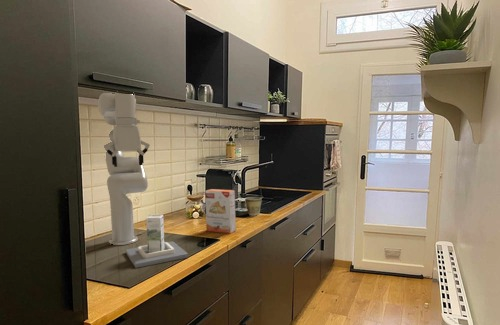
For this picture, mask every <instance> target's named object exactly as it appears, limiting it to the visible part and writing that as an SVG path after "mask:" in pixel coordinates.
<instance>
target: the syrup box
mask: <svg viewBox="0 0 500 325" xmlns="http://www.w3.org/2000/svg"><path fill="white" fill-rule="evenodd" d="M145 221H146V224H145V225H146V241H147V242H146V243H147V244H146V245H147V246H148V253H152V252H158V251H163V250H164V249H165V244H164V242H165V227H164V226H165V225H164V222H165V221H164V214H149V215H148V216H147V217H146V218H145Z"/></svg>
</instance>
